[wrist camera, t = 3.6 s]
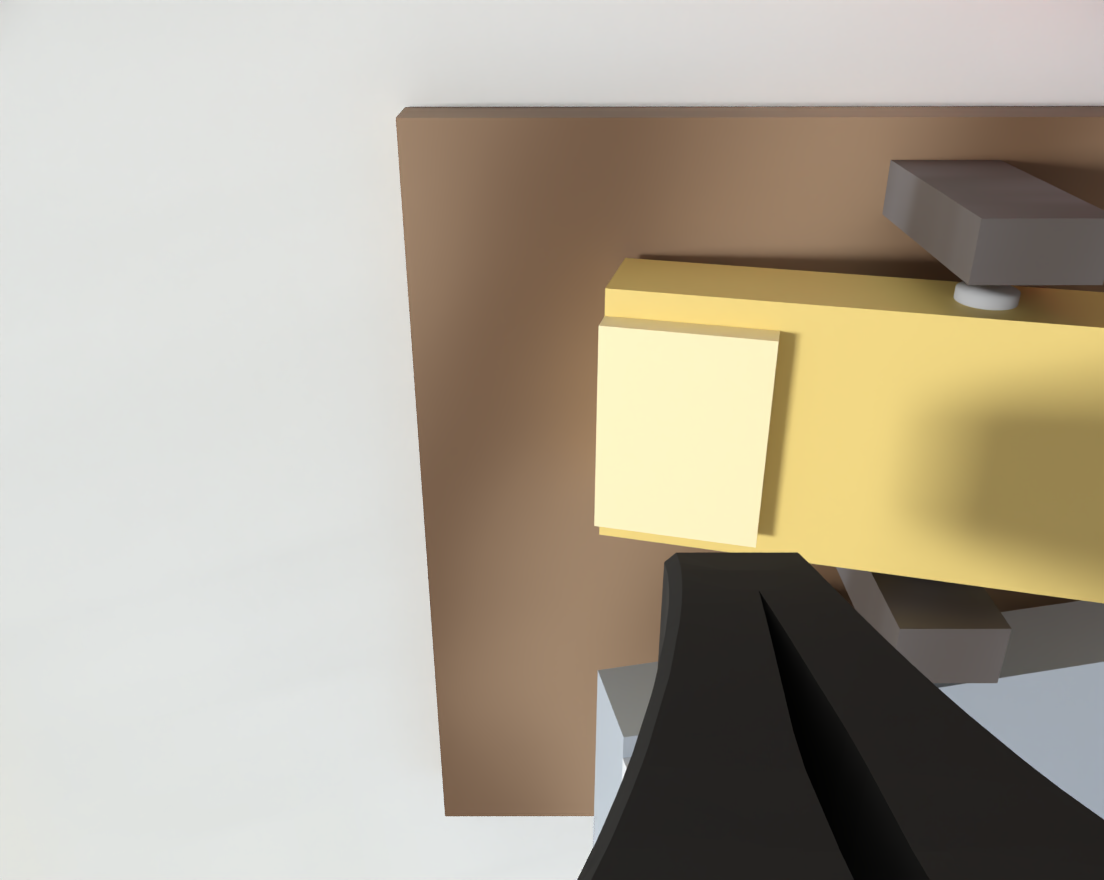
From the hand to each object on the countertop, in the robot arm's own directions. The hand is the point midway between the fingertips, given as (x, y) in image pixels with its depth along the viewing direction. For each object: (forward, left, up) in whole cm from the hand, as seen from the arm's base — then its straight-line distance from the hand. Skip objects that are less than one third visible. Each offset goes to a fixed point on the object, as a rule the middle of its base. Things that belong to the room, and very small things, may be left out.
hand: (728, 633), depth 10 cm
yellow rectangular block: (-4, 0, -4) cm, 6 cm away
